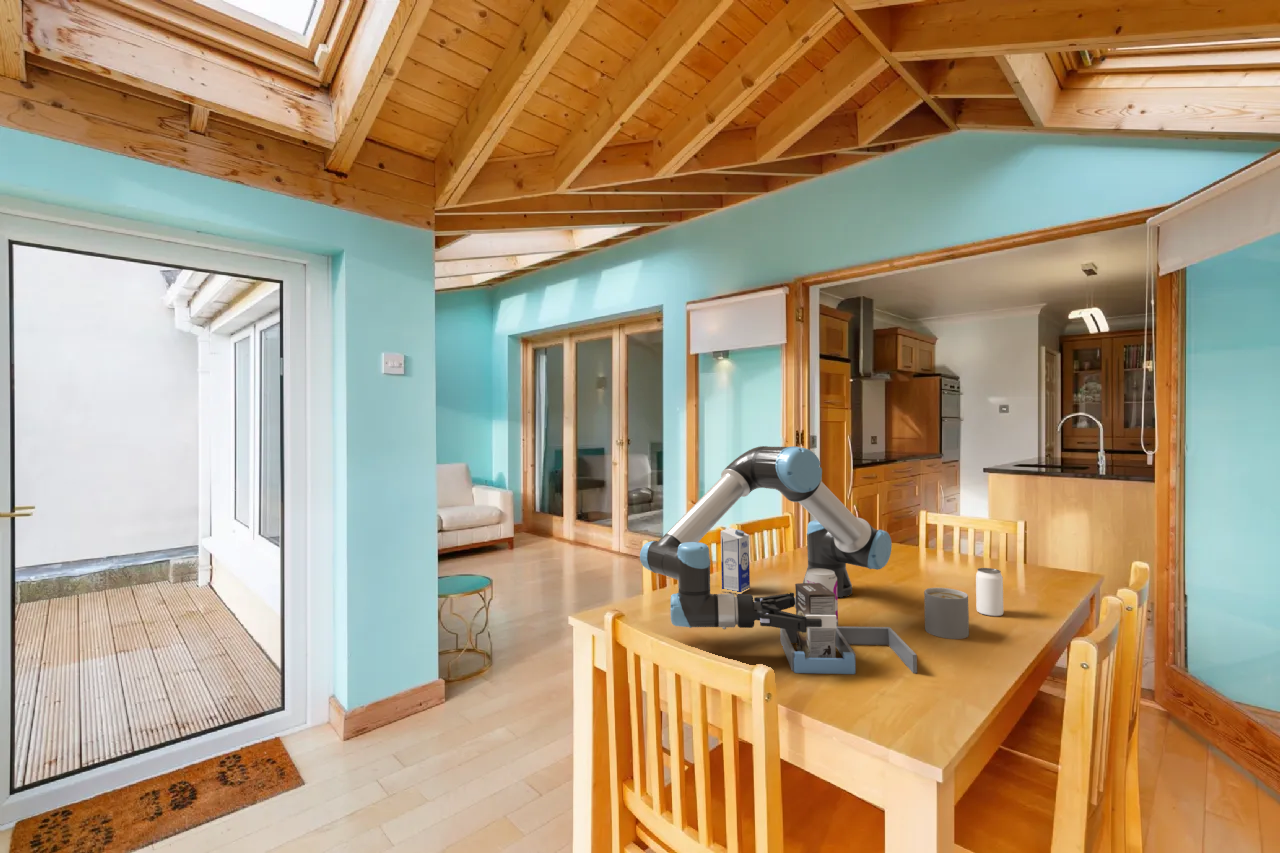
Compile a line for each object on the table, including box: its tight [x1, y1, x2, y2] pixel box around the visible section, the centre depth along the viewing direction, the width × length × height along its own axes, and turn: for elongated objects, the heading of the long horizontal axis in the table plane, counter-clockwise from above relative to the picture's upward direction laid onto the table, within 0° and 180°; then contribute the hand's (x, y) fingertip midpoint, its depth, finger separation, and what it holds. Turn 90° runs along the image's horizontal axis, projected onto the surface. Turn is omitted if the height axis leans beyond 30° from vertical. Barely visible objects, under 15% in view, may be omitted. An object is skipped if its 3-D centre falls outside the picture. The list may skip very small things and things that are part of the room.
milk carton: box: [720, 527, 751, 592], centre depth 188 cm, size 7×7×20 cm
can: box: [975, 567, 1004, 617], centre depth 162 cm, size 6×6×12 cm
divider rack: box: [779, 626, 918, 675], centre depth 133 cm, size 18×26×4 cm
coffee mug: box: [923, 587, 970, 640], centre depth 150 cm, size 13×10×10 cm
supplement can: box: [804, 568, 839, 627], centre depth 153 cm, size 8×8×15 cm
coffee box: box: [794, 582, 837, 658], centre depth 134 cm, size 9×6×16 cm
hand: (829, 611), depth 134 cm, fingers open, 13 cm apart
